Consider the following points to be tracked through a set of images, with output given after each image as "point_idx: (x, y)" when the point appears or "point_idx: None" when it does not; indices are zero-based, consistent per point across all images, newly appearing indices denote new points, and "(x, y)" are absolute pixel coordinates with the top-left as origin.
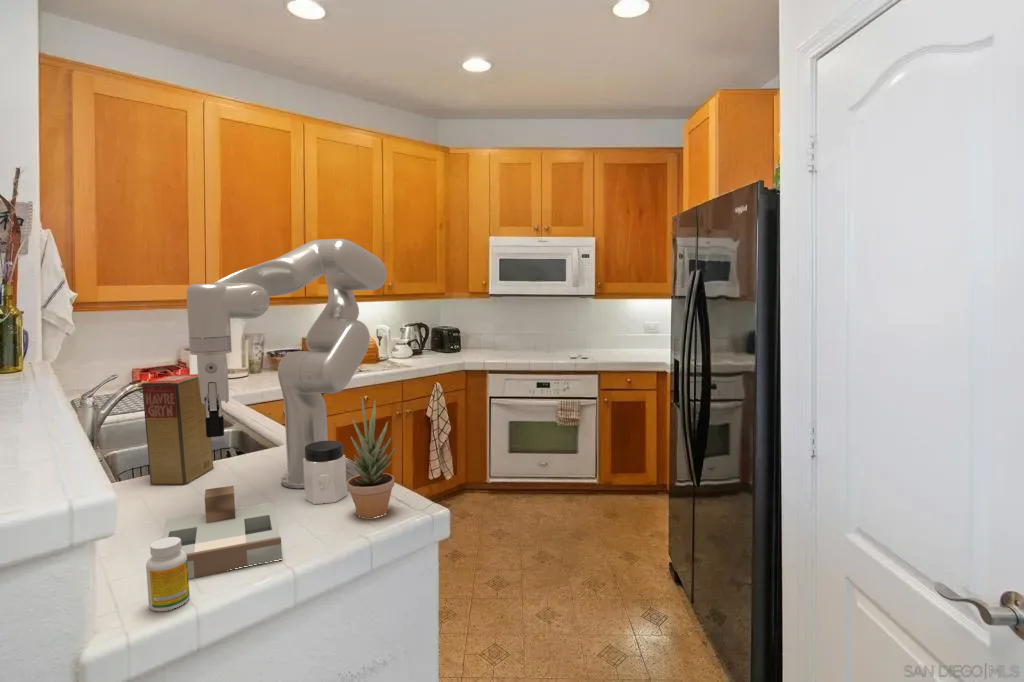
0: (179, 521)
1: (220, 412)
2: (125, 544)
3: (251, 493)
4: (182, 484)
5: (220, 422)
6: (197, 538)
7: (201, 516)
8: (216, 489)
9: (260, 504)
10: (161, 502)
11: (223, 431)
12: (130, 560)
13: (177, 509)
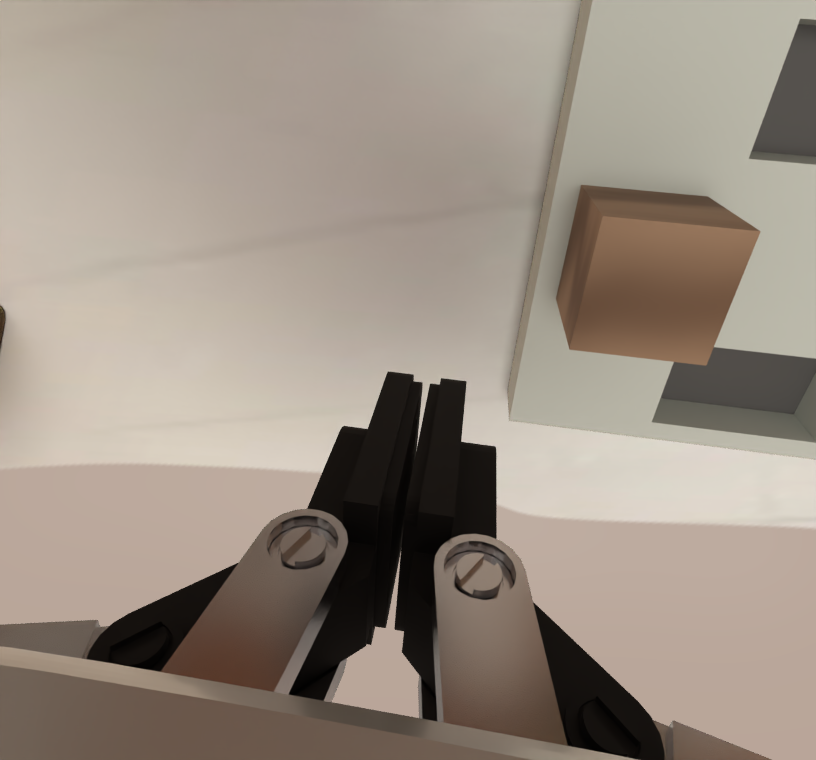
0: (567, 388)
1: (532, 617)
2: (516, 482)
3: (186, 51)
4: (2, 318)
5: (457, 489)
6: (813, 352)
7: None
8: (609, 304)
9: (590, 47)
10: (181, 386)
11: (464, 402)
12: (655, 478)
13: (276, 349)
